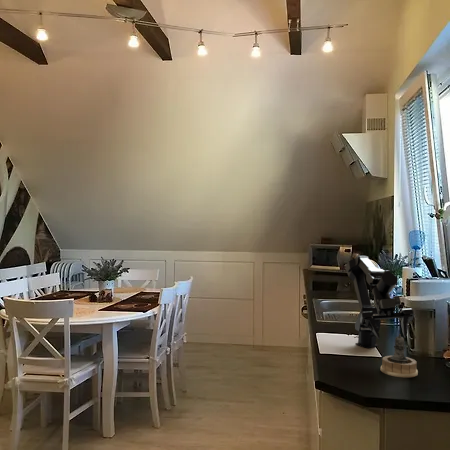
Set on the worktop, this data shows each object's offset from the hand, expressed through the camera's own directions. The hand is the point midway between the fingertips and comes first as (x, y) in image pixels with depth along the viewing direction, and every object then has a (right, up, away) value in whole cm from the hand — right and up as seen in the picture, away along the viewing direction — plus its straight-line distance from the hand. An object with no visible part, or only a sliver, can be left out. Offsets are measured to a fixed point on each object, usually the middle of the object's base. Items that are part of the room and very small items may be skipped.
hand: (392, 337), depth 180 cm
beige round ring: (0, -10, -8) cm, 13 cm away
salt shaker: (0, -9, -8) cm, 12 cm away
